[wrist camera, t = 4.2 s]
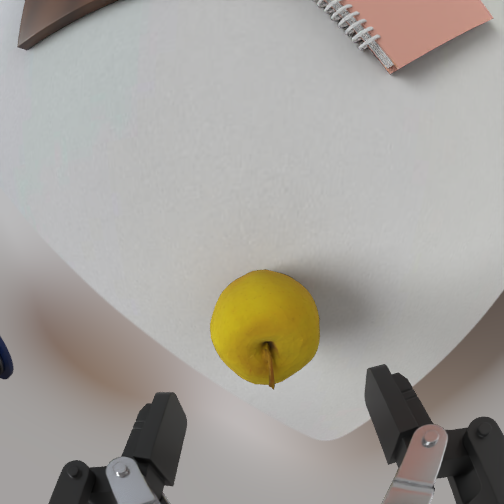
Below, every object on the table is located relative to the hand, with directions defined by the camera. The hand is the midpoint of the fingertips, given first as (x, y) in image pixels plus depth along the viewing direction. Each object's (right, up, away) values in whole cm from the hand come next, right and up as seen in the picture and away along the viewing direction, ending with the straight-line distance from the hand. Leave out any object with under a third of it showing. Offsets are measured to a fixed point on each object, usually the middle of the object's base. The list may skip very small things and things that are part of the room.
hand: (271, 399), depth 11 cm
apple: (0, +3, +10) cm, 10 cm away
